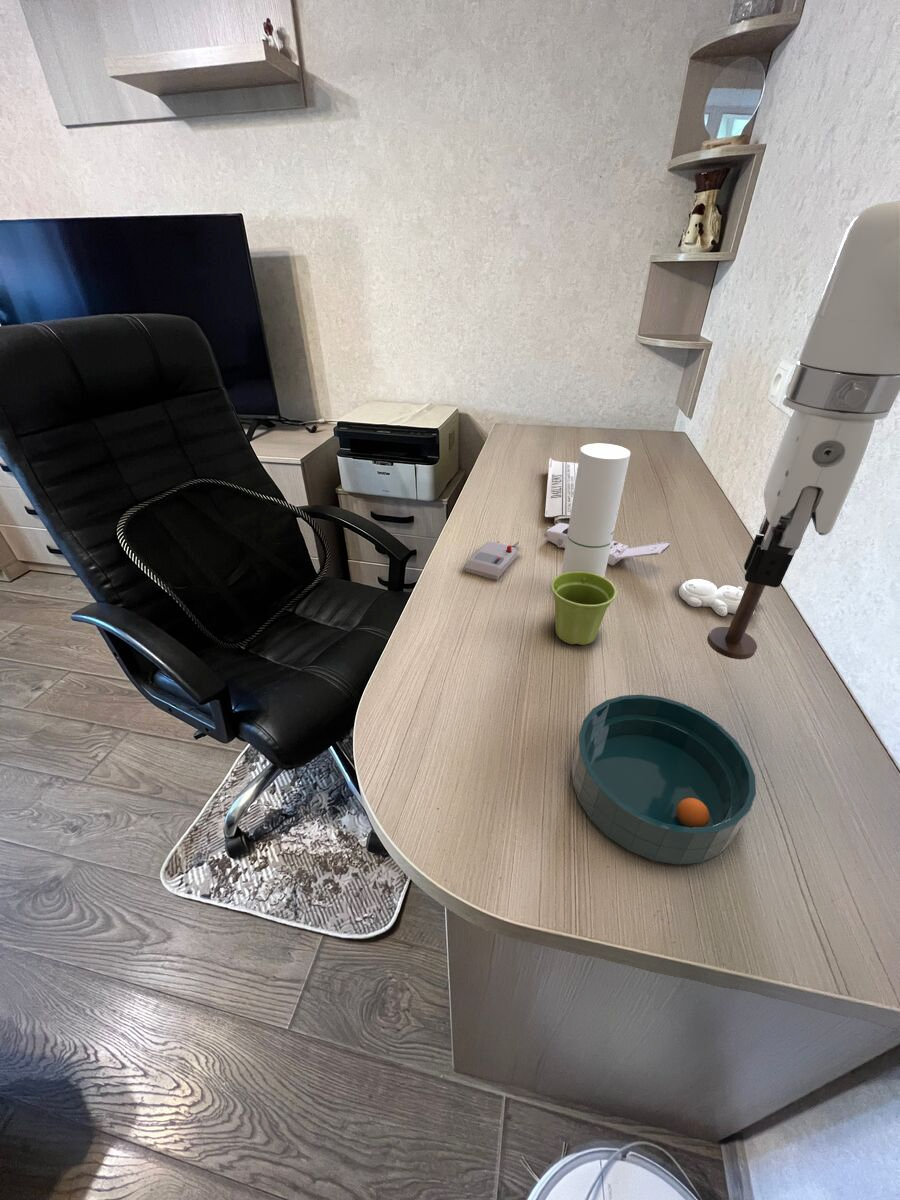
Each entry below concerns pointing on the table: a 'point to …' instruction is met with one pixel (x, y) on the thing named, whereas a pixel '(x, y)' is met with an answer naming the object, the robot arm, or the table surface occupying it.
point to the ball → (692, 813)
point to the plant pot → (580, 605)
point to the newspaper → (560, 490)
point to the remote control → (491, 560)
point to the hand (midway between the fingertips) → (760, 576)
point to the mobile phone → (617, 549)
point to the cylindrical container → (595, 507)
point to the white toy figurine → (711, 596)
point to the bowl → (661, 777)
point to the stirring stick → (738, 626)
